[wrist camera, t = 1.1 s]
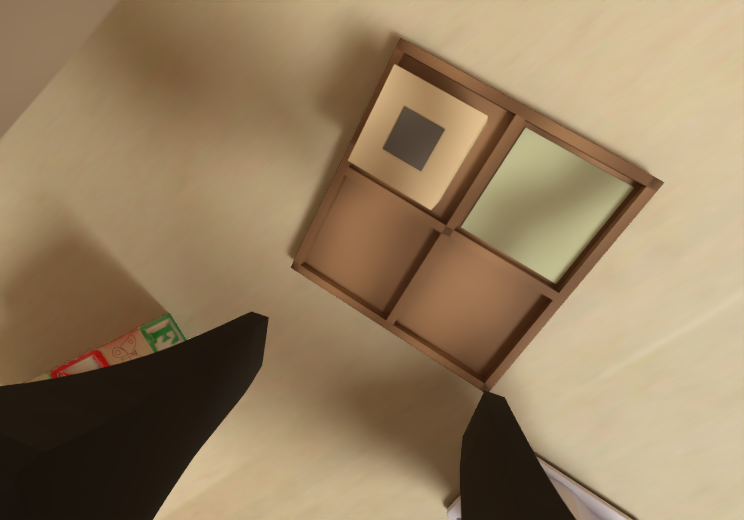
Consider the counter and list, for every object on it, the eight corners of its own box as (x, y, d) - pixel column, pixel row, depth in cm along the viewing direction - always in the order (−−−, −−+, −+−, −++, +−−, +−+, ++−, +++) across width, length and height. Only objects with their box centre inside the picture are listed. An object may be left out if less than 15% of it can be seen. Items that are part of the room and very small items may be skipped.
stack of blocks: (71, 444, 38) (-106, 567, 27) (35, 392, 37) (-162, 496, 26) (213, 375, 30) (49, 508, 19) (171, 309, 30) (-25, 405, 18)
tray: (655, 181, 19) (664, 182, 18) (486, 384, 24) (486, 393, 23) (404, 43, 20) (400, 37, 19) (297, 263, 25) (290, 267, 24)
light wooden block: (486, 124, 20) (487, 115, 15) (441, 199, 21) (430, 210, 17) (413, 83, 20) (394, 63, 16) (373, 159, 22) (347, 160, 17)
